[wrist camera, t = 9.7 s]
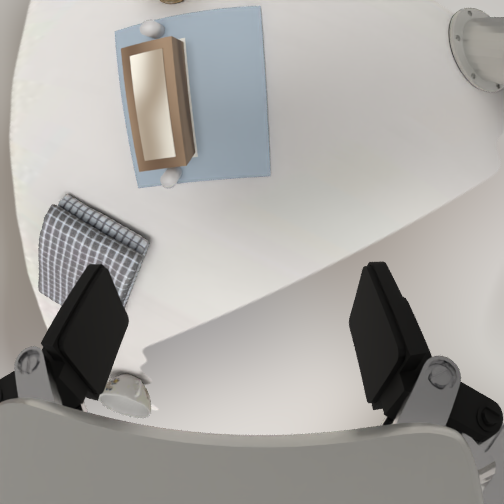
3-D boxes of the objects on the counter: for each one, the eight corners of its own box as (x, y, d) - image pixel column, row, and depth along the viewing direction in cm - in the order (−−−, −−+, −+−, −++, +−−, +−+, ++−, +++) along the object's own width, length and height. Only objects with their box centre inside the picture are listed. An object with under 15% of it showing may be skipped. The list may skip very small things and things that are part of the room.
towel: (157, 234, 38) (140, 269, 32) (123, 311, 47) (110, 346, 40) (66, 187, 34) (36, 213, 27) (52, 274, 42) (31, 303, 36)
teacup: (143, 396, 65) (137, 422, 58) (100, 376, 60) (92, 402, 54) (170, 379, 59) (164, 410, 52) (121, 355, 54) (111, 385, 47)
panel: (260, 7, 22) (261, -2, 19) (269, 173, 33) (272, 185, 30) (117, 32, 23) (102, 28, 19) (140, 185, 34) (130, 198, 31)
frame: (183, 41, 23) (171, 35, 19) (195, 152, 31) (186, 166, 27) (139, 51, 24) (120, 48, 19) (153, 158, 31) (138, 172, 27)
